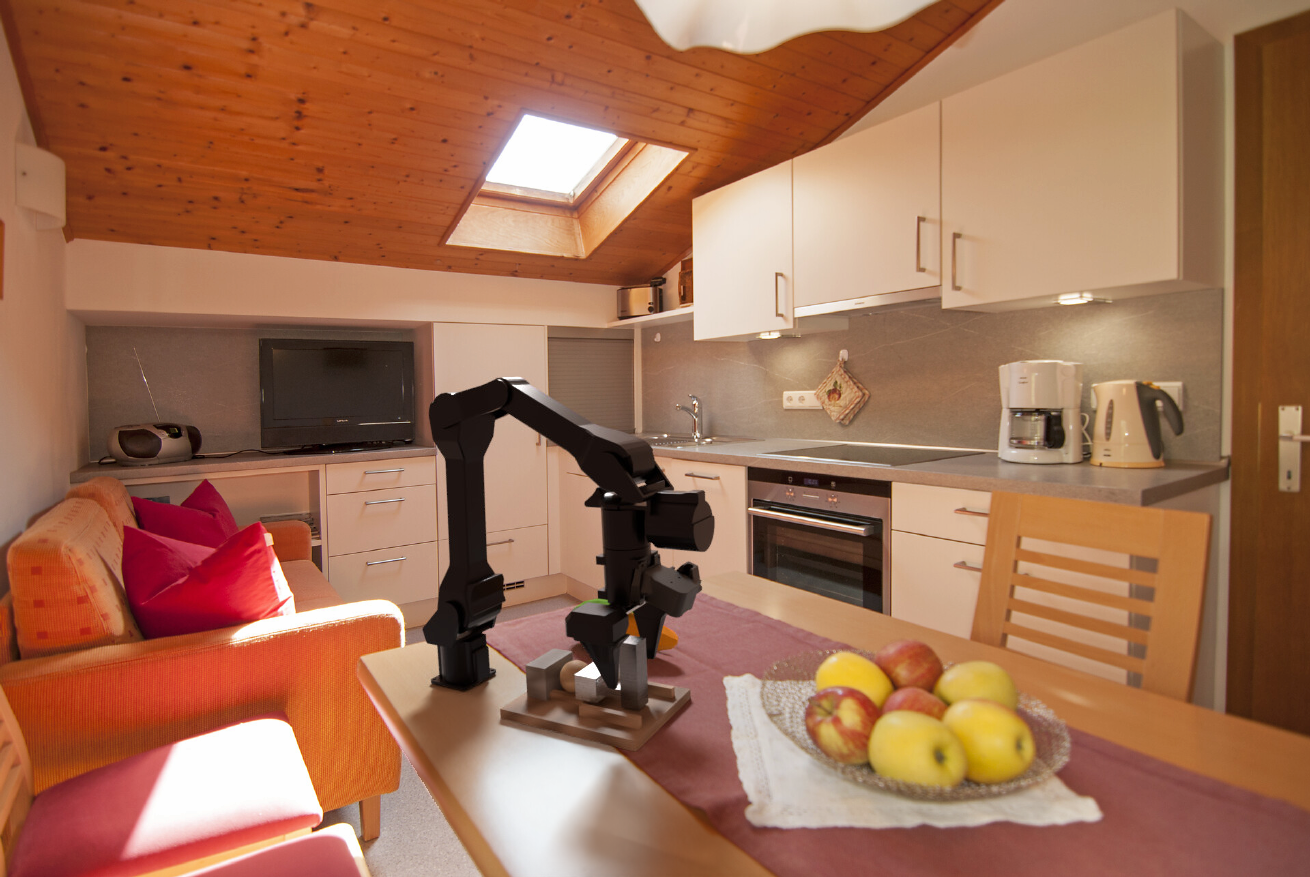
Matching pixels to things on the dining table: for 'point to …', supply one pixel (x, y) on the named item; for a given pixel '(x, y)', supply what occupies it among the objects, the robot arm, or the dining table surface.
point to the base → (589, 707)
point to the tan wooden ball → (570, 674)
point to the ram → (629, 680)
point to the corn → (666, 639)
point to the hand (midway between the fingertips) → (632, 672)
